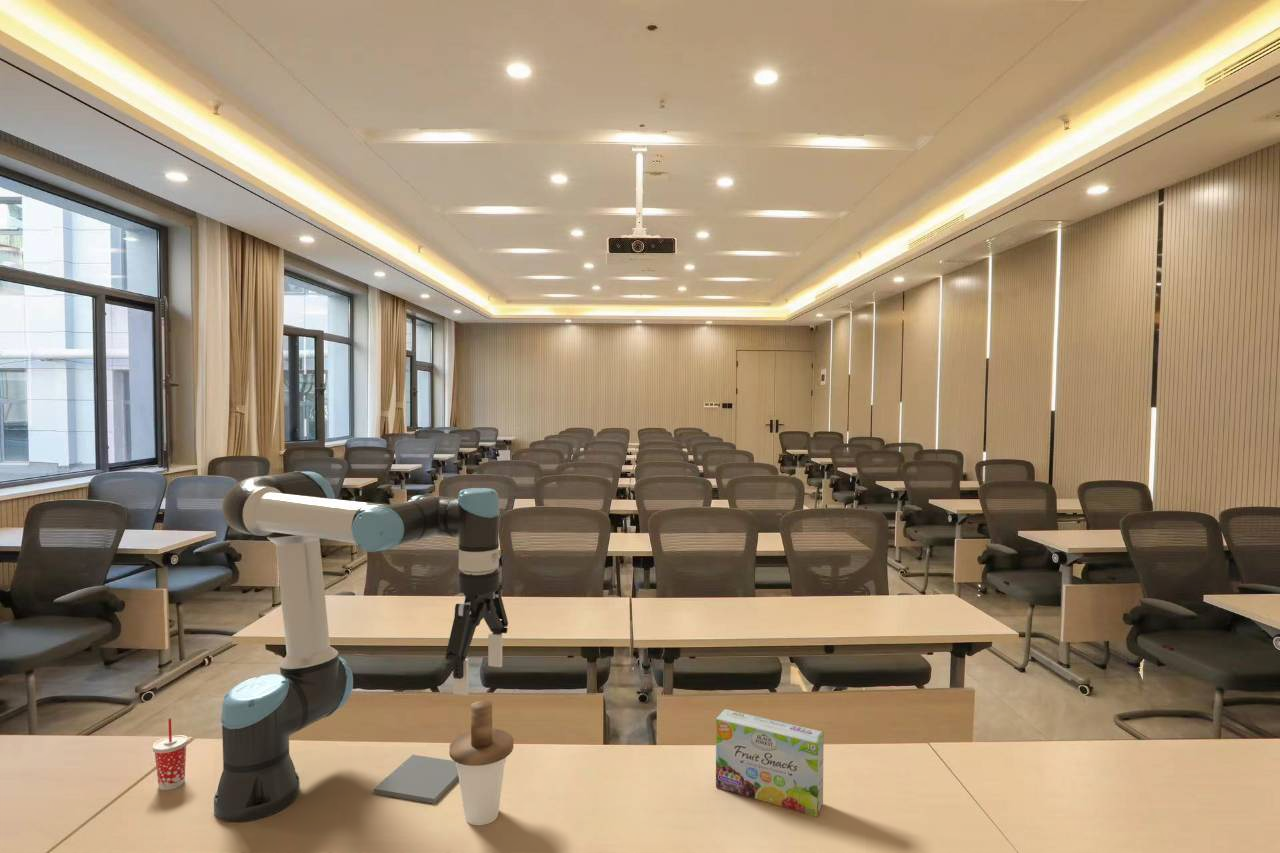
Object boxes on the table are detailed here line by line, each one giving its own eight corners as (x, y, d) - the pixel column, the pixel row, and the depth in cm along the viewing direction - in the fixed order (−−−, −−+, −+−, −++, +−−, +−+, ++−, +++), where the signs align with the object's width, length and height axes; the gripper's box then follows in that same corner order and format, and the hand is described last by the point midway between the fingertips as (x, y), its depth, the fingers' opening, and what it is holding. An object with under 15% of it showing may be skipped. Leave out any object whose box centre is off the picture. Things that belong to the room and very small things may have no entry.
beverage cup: (186, 787, 144) (184, 721, 144) (151, 795, 142) (148, 727, 141) (191, 773, 150) (189, 709, 149) (156, 780, 147) (154, 715, 146)
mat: (373, 793, 142) (373, 788, 142) (412, 759, 156) (412, 754, 156) (434, 803, 138) (434, 798, 138) (469, 767, 152) (469, 763, 152)
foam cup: (512, 802, 139) (512, 739, 138) (498, 831, 130) (497, 763, 129) (466, 800, 140) (465, 736, 139) (449, 828, 130) (448, 760, 130)
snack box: (714, 789, 144) (714, 718, 143) (724, 776, 148) (724, 707, 148) (817, 818, 134) (818, 741, 133) (824, 803, 139) (825, 729, 138)
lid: (437, 761, 130) (436, 715, 130) (468, 731, 142) (468, 689, 141) (496, 769, 127) (496, 722, 127) (523, 738, 139) (523, 695, 138)
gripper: (463, 589, 120) (463, 710, 121) (524, 556, 144) (524, 657, 145) (425, 585, 122) (425, 704, 123) (491, 554, 146) (491, 653, 147)
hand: (478, 679), depth 134 cm, fingers open, 13 cm apart
